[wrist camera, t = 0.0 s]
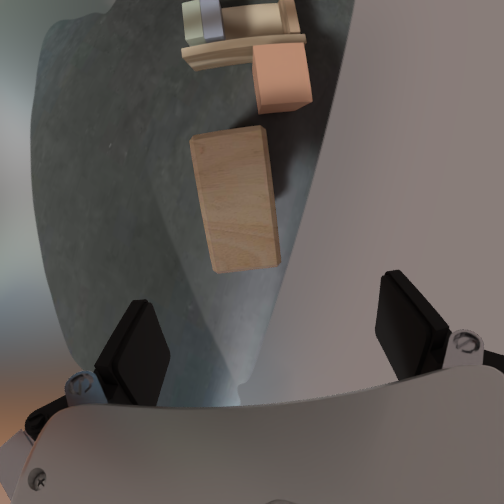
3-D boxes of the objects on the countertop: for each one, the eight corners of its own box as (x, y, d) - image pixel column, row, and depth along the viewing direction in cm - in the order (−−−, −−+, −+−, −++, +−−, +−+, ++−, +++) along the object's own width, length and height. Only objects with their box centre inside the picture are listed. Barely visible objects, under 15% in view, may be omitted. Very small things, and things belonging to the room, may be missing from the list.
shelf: (188, 16, 29) (175, -6, 22) (286, 4, 29) (293, -21, 21) (195, 71, 33) (182, 57, 26) (296, 59, 32) (306, 42, 25)
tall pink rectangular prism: (252, 70, 33) (252, 45, 22) (288, 67, 33) (303, 42, 22) (258, 114, 36) (261, 105, 25) (294, 111, 36) (312, 101, 25)
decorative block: (268, 206, 41) (281, 269, 23) (228, 210, 41) (210, 276, 23) (260, 129, 37) (268, 124, 18) (218, 134, 37) (187, 134, 19)
